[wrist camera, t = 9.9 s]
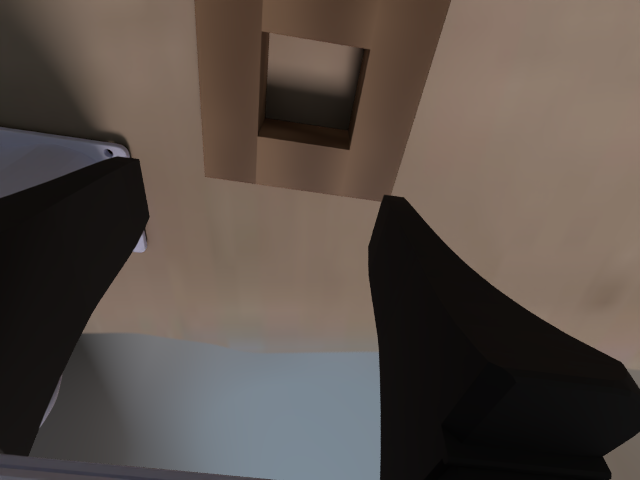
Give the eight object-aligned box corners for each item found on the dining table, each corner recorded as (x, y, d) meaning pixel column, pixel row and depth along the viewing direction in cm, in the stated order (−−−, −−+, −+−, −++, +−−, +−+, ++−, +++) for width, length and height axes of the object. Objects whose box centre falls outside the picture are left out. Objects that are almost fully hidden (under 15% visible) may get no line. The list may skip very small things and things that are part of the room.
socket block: (216, 156, 22) (204, 176, 20) (209, -63, 15) (190, -65, 13) (383, 180, 22) (388, 202, 20) (441, -21, 16) (455, -16, 14)
